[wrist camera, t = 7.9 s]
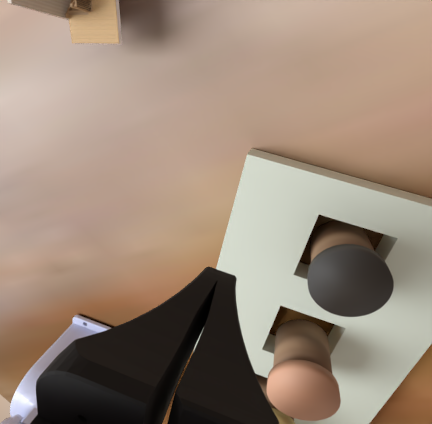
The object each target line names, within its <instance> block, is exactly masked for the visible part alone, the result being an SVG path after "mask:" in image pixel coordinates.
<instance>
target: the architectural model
mask: <svg viewBox="0 0 432 424" xmlns="http://www.w3.org/2000/svg"><path fill="white" fill-rule="evenodd" d="M7 1H8V3H9V4H13V5H16V6H20V7H23V8H27V9H31V10H34V11H38V12H41V13H45V14H48V15H52V16H56V17H59V18H63V19H66V20H69V24H70V32H71V39H72V43H74V44H122V33H121V21H120V8H119V0H7Z"/></svg>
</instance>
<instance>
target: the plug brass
mask: <svg viewBox="0 0 432 424" xmlns="http://www.w3.org/2000/svg"><path fill="white" fill-rule="evenodd" d="M256 377H257V379H258V382H259V384H260V386H261V388H262V390H263V392H264V394H265V397H266V398H267V400H268V402H269V404H270V406H271V408H272V410H273V412H274V413H275V415H276V417H277V419H278V421H279V424H295V422H294V418H293V417H290V416H288V415H286V414H284V413H282V412H281V411H279V410H278V409H277V408H276V407H275V406H274V405H273V404H272V403H271V402H270V400H269V398H268V396H267V379H268V378H266V377H263V376H261V375H258V374H256Z"/></svg>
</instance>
